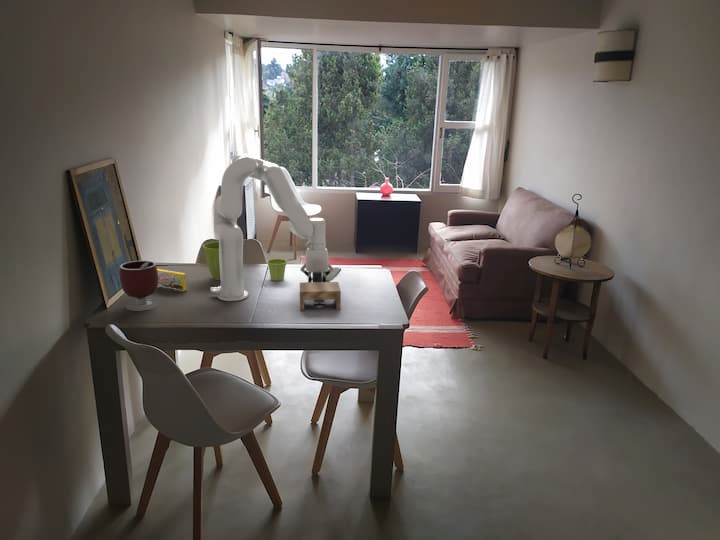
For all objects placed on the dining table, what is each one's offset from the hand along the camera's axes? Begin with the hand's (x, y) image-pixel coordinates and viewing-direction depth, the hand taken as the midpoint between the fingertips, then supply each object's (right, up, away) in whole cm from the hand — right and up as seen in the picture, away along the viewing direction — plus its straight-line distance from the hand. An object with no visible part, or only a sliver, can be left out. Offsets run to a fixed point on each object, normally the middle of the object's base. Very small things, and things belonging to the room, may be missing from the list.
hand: (317, 284), depth 243 cm
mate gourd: (-67, -8, -29) cm, 73 cm away
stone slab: (+3, +4, +19) cm, 20 cm away
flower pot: (-46, +3, +10) cm, 47 cm away
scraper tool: (+1, -3, -8) cm, 9 cm away
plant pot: (-19, +2, +10) cm, 22 cm away
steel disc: (+3, -8, -24) cm, 26 cm away
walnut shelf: (+3, -8, -23) cm, 25 cm away
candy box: (-64, -2, -7) cm, 64 cm away
